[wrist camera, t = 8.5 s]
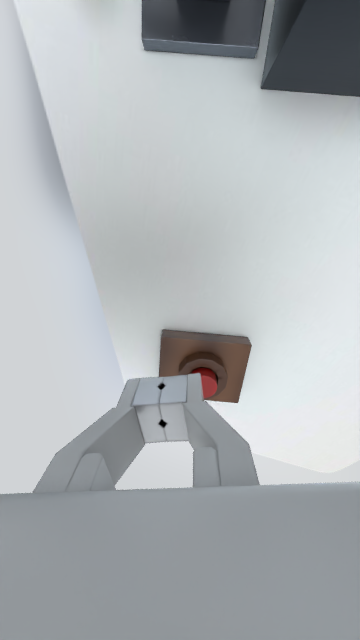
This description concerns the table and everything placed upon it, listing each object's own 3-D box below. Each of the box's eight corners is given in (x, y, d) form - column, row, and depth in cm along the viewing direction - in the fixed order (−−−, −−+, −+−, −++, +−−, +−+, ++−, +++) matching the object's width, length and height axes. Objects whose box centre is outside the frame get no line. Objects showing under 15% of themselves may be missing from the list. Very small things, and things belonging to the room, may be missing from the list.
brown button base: (159, 386, 35) (156, 404, 31) (162, 329, 31) (159, 343, 28) (235, 393, 35) (240, 412, 31) (247, 337, 31) (255, 352, 27)
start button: (187, 388, 30) (187, 397, 29) (190, 366, 29) (190, 374, 27) (213, 390, 30) (215, 399, 29) (217, 368, 29) (219, 377, 27)
